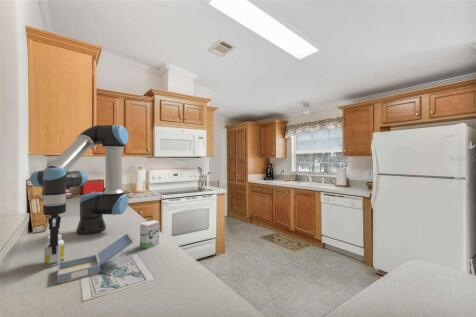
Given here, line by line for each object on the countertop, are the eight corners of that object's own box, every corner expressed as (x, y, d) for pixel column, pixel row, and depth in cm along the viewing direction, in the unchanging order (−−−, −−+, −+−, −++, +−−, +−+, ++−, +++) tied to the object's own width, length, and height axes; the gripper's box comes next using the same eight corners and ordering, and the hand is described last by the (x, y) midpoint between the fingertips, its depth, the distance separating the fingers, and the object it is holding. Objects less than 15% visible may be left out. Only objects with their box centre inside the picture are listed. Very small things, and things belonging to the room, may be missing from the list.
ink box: (146, 249, 110) (146, 225, 110) (139, 247, 112) (139, 223, 112) (159, 243, 118) (159, 220, 118) (152, 241, 120) (152, 219, 120)
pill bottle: (63, 258, 100) (63, 232, 100) (65, 263, 95) (65, 235, 95) (43, 263, 95) (43, 235, 95) (45, 268, 91) (45, 239, 91)
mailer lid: (127, 230, 104) (128, 233, 104) (96, 251, 97) (98, 254, 97) (133, 238, 94) (134, 240, 95) (99, 262, 87) (101, 264, 87)
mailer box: (58, 270, 89) (58, 262, 89) (96, 261, 97) (96, 254, 97) (57, 284, 79) (57, 275, 79) (100, 272, 87) (100, 265, 87)
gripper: (45, 201, 101) (44, 252, 101) (40, 209, 85) (40, 270, 85) (66, 199, 105) (65, 248, 105) (65, 207, 90) (65, 264, 90)
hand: (54, 258), depth 95 cm, fingers closed on pill bottle, 6 cm apart
